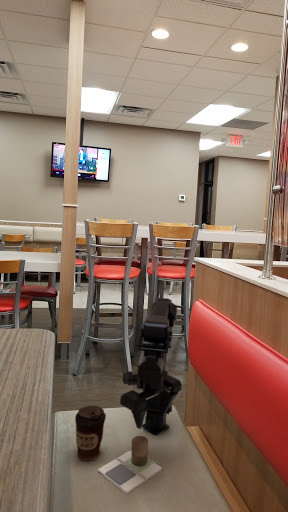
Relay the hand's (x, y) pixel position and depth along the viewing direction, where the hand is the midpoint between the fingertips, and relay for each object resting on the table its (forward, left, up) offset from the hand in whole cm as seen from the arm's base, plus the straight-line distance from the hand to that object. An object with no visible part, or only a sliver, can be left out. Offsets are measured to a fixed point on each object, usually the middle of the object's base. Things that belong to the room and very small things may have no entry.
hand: (150, 421), depth 104 cm
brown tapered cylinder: (+2, -1, -11) cm, 11 cm away
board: (+6, -1, -12) cm, 13 cm away
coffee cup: (+10, -14, -12) cm, 21 cm away
